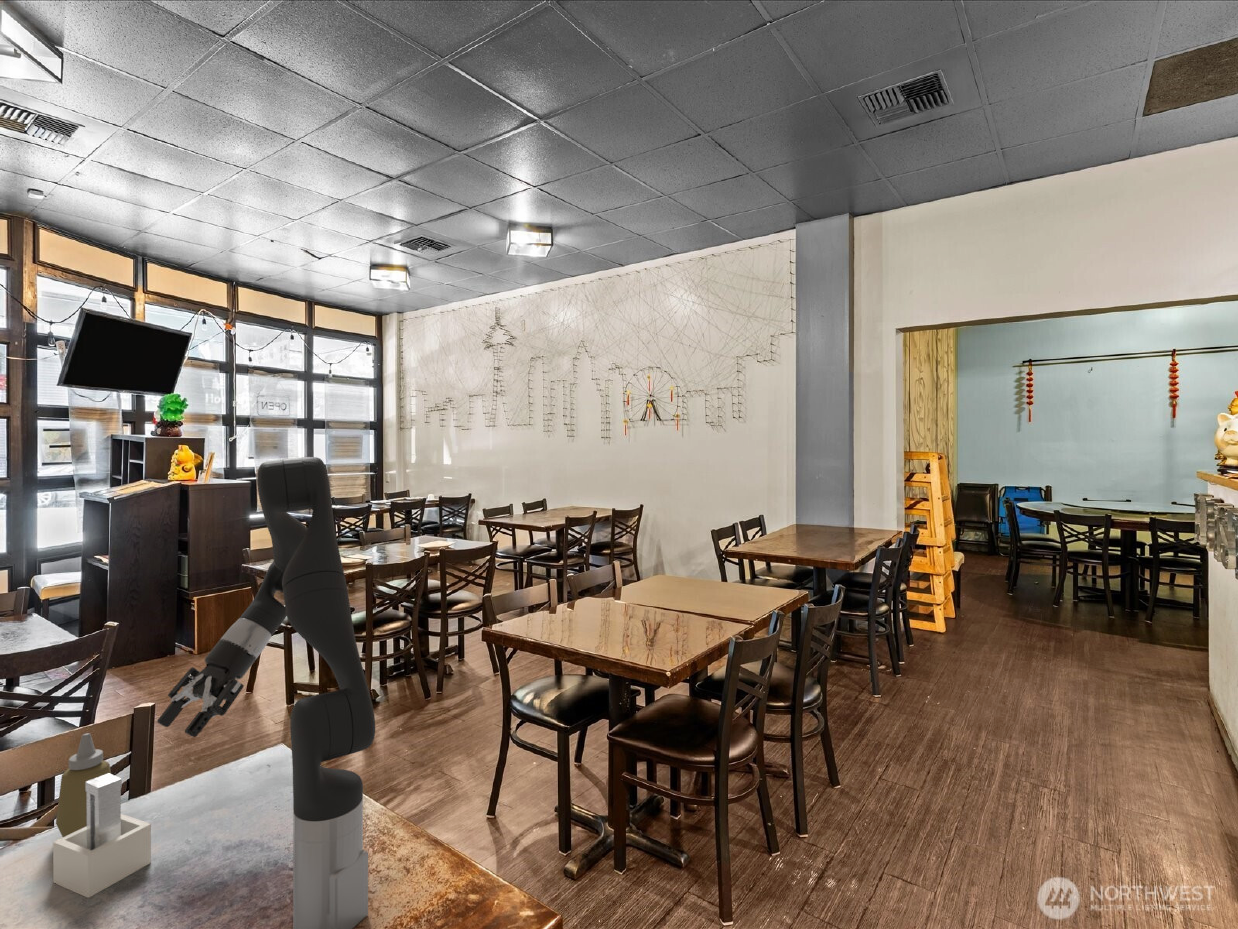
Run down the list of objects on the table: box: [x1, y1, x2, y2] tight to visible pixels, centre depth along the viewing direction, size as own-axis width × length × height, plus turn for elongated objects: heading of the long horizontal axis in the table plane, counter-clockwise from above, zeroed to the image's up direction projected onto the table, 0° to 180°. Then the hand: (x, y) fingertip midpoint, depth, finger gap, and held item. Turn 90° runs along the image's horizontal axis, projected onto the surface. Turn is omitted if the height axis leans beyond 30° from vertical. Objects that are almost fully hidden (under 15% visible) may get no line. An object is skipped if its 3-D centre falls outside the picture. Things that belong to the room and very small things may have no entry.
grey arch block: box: [85, 773, 123, 850], centre depth 102 cm, size 4×3×14 cm
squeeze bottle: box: [55, 732, 112, 838], centre depth 111 cm, size 8×8×18 cm
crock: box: [52, 813, 152, 899], centre depth 102 cm, size 9×9×6 cm
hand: (175, 730), depth 111 cm, fingers open, 8 cm apart
